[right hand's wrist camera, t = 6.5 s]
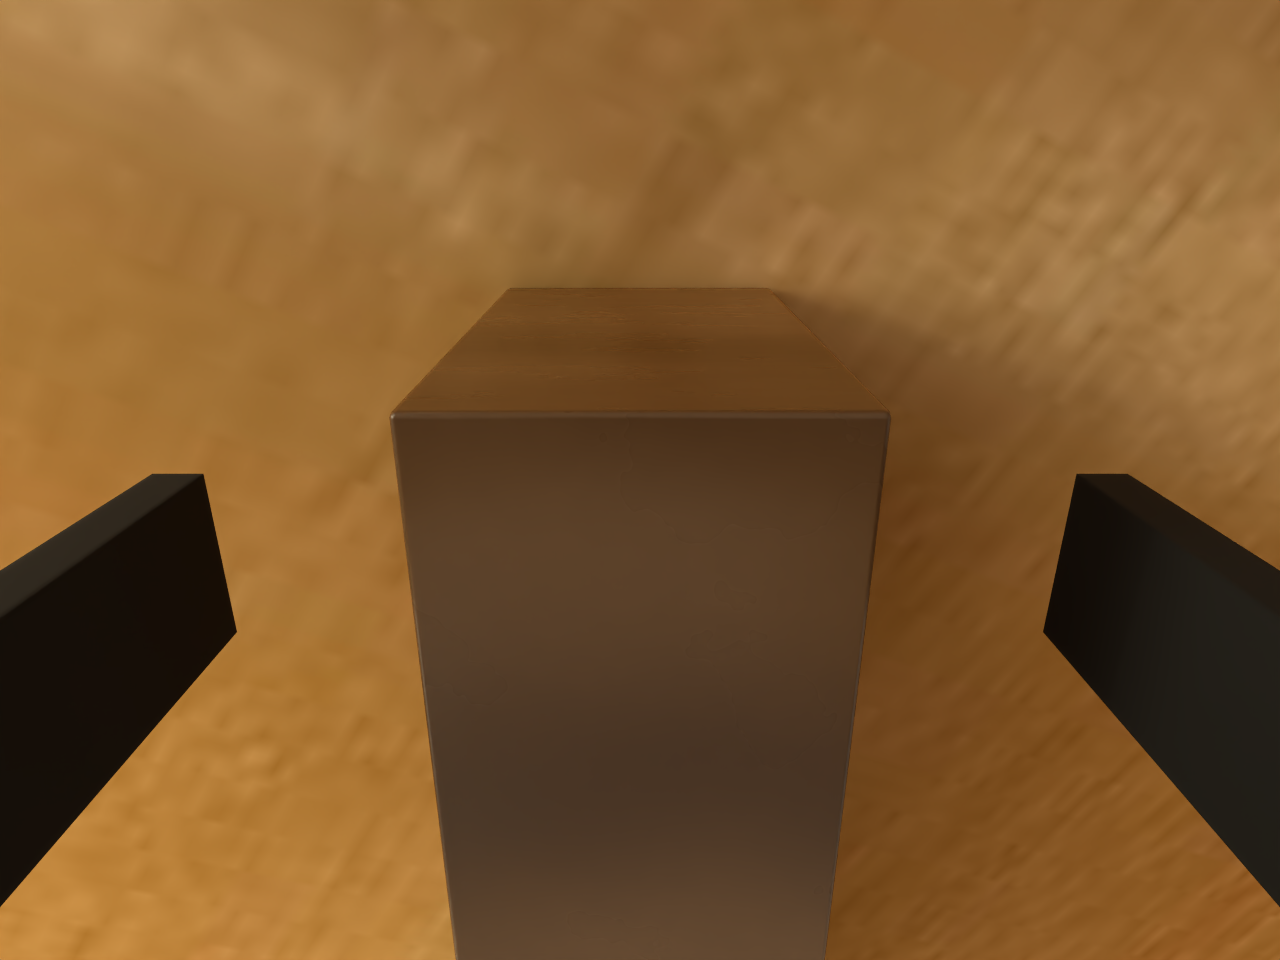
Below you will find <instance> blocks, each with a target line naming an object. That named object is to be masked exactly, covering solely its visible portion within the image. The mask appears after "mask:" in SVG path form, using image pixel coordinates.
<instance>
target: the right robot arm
mask: <svg viewBox="0 0 1280 960" xmlns="http://www.w3.org/2000/svg"><path fill="white" fill-rule="evenodd" d="M236 632H237V630H236V626H235V621H234V616H233V611H232V607H231V602H230V597H229V592H228V588H227V583H226V578H225V574H224V569H223V564H222V559H221V555H220V550H219V545H218V541H217V536H216V531H215V526H214V522H213V517H212V512H211V508H210V503H209V498H208V493H207V489H206V484H205V479H204V475H203V474H151V475H150V476H148V477H147V478H145V479H144V480H142V481H140V482H139V483H137V484H136V485H134V486H133V487H131V488H129V489H128V490H126V491H125V492H123V493H122V494H120V495H118V496H117V497H115V498H114V499H112V500H111V501H109V502H107V503H106V504H104V505H103V506H101V507H100V508H98V509H96V510H95V511H93V512H92V513H90V514H89V515H87V516H85V517H84V518H82V519H81V520H79V521H78V522H76V523H74V524H73V525H71V526H70V527H68V528H67V529H65V530H63V531H62V532H60V533H59V534H57V535H56V536H54V537H52V538H51V539H49V540H48V541H46V542H45V543H43V544H41V545H40V546H38V547H37V548H35V549H34V550H32V551H30V552H29V553H27V554H26V555H24V556H23V557H21V558H19V559H18V560H16V561H15V562H13V563H12V564H10V565H8V566H7V567H5V568H4V569H2V570H1V571H0V907H1V905H2V904H3V903H4V902H5V901H6V900H7V898H8V897H9V896H10V895H11V894H12V893H13V892H14V890H15V889H16V888H17V887H18V886H19V885H20V883H21V882H22V881H23V880H24V879H25V878H26V876H27V875H28V874H29V873H30V872H31V871H32V869H33V868H34V867H35V866H36V865H37V864H38V862H39V861H40V860H41V859H42V858H43V857H44V856H45V854H46V853H47V852H48V851H49V850H50V849H51V847H52V846H53V845H54V844H55V843H56V842H57V840H58V839H59V838H60V837H61V836H62V835H63V833H64V832H65V831H66V830H67V829H68V828H69V826H70V825H71V824H72V823H73V822H74V821H75V819H76V818H77V817H78V816H79V815H80V814H81V813H82V811H83V810H84V809H85V808H86V807H87V806H88V804H89V803H90V802H91V801H92V800H93V799H94V797H95V796H96V795H97V794H98V793H99V792H100V790H101V789H102V788H103V787H104V786H105V785H106V783H107V782H108V781H109V780H110V779H111V778H112V777H113V775H114V774H115V773H116V772H117V771H118V770H119V768H120V767H121V766H122V765H123V764H124V763H125V761H126V760H127V759H128V758H129V757H130V756H131V754H132V753H133V752H134V751H135V750H136V749H137V747H138V746H139V745H140V744H141V743H142V742H143V740H144V739H145V738H146V737H147V736H148V735H149V734H150V732H151V731H152V730H153V729H154V728H155V727H156V725H157V724H158V723H159V722H160V721H161V720H162V718H163V717H164V716H165V715H166V714H167V713H168V711H169V710H170V709H171V708H172V707H173V706H174V704H175V703H176V702H177V701H178V700H179V699H180V698H181V696H182V695H183V694H184V693H185V692H186V691H187V689H188V688H189V687H190V686H191V685H192V684H193V682H194V681H195V680H196V679H197V678H198V677H199V675H200V674H201V673H202V672H203V671H204V670H205V668H206V667H207V666H208V665H209V664H210V663H211V661H212V660H213V659H214V658H215V657H216V656H217V655H218V653H219V652H220V651H221V650H222V649H223V648H224V646H225V645H226V644H227V643H228V642H229V641H230V639H231V638H232V637H233V636H234V635H235V634H236ZM1043 632H1044V634H1045V635H1046V636H1047V637H1048V638H1049V639H1050V641H1051V642H1052V643H1053V644H1054V645H1055V646H1056V648H1057V649H1058V650H1059V651H1060V652H1061V653H1062V655H1063V656H1064V657H1065V658H1066V659H1067V660H1068V661H1069V663H1070V664H1071V665H1072V666H1073V667H1074V668H1075V670H1076V671H1077V672H1078V673H1079V674H1080V675H1081V677H1082V678H1083V679H1084V680H1085V681H1086V682H1087V684H1088V685H1089V686H1090V687H1091V688H1092V689H1093V691H1094V692H1095V693H1096V694H1097V695H1098V696H1099V698H1100V699H1101V700H1102V701H1103V702H1104V703H1105V704H1106V706H1107V707H1108V708H1109V709H1110V710H1111V711H1112V713H1113V714H1114V715H1115V716H1116V717H1117V718H1118V720H1119V721H1120V722H1121V723H1122V724H1123V725H1124V727H1125V728H1126V729H1127V730H1128V731H1129V732H1130V734H1131V735H1132V736H1133V737H1134V738H1135V739H1136V740H1137V742H1138V743H1139V744H1140V745H1141V746H1142V747H1143V749H1144V750H1145V751H1146V752H1147V753H1148V754H1149V756H1150V757H1151V758H1152V759H1153V760H1154V761H1155V763H1156V764H1157V765H1158V766H1159V767H1160V768H1161V770H1162V771H1163V772H1164V773H1165V774H1166V775H1167V777H1168V778H1169V779H1170V780H1171V781H1172V782H1173V783H1174V785H1175V786H1176V787H1177V788H1178V789H1179V790H1180V792H1181V793H1182V794H1183V795H1184V796H1185V797H1186V799H1187V800H1188V801H1189V802H1190V803H1191V804H1192V806H1193V807H1194V808H1195V809H1196V810H1197V811H1198V813H1199V814H1200V815H1201V816H1202V817H1203V818H1204V819H1205V821H1206V822H1207V823H1208V824H1209V825H1210V826H1211V828H1212V829H1213V830H1214V831H1215V832H1216V833H1217V835H1218V836H1219V837H1220V838H1221V839H1222V840H1223V842H1224V843H1225V844H1226V845H1227V846H1228V847H1229V849H1230V850H1231V851H1232V852H1233V853H1234V854H1235V856H1236V857H1237V858H1238V859H1239V860H1240V861H1241V862H1242V864H1243V865H1244V866H1245V867H1246V868H1247V869H1248V871H1249V872H1250V873H1251V874H1252V875H1253V876H1254V878H1255V879H1256V880H1257V881H1258V882H1259V883H1260V885H1261V886H1262V887H1263V888H1264V889H1265V890H1266V892H1267V893H1268V894H1269V895H1270V896H1271V897H1272V898H1273V900H1274V901H1275V902H1276V903H1277V904H1278V905H1279V907H1280V571H1279V570H1278V569H1276V568H1275V567H1273V566H1272V565H1270V564H1268V563H1267V562H1265V561H1264V560H1262V559H1261V558H1259V557H1257V556H1256V555H1254V554H1253V553H1251V552H1250V551H1248V550H1246V549H1245V548H1243V547H1242V546H1240V545H1239V544H1237V543H1235V542H1234V541H1232V540H1231V539H1229V538H1228V537H1226V536H1224V535H1223V534H1221V533H1220V532H1218V531H1217V530H1215V529H1213V528H1212V527H1210V526H1209V525H1207V524H1206V523H1204V522H1202V521H1201V520H1199V519H1198V518H1196V517H1195V516H1193V515H1191V514H1190V513H1188V512H1187V511H1185V510H1184V509H1182V508H1180V507H1179V506H1177V505H1176V504H1174V503H1173V502H1171V501H1169V500H1168V499H1166V498H1165V497H1163V496H1162V495H1160V494H1158V493H1157V492H1155V491H1154V490H1152V489H1151V488H1149V487H1147V486H1146V485H1144V484H1143V483H1141V482H1140V481H1138V480H1136V479H1135V478H1133V477H1132V476H1130V475H1129V474H1077V475H1076V479H1075V484H1074V489H1073V493H1072V498H1071V503H1070V508H1069V512H1068V517H1067V522H1066V526H1065V531H1064V536H1063V541H1062V545H1061V550H1060V555H1059V559H1058V564H1057V569H1056V574H1055V578H1054V583H1053V588H1052V592H1051V597H1050V602H1049V607H1048V611H1047V616H1046V621H1045V626H1044V630H1043Z"/></svg>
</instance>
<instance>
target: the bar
mask: <svg viewBox="0 0 1280 960" xmlns="http://www.w3.org/2000/svg"><path fill="white" fill-rule="evenodd" d="M890 422H891V415H890V412H889V411H888V410H887V409H886V408H885V407H884V406H883V405H882V404H881V403H880V402H879V401H878V400H877V399H876V398H875V397H874V396H873V395H872V393H871V392H870V391H869V390H868V389H867V388H866V387H865V386H864V385H863V384H862V383H861V382H860V381H859V380H858V379H857V378H856V377H855V376H854V375H853V374H852V373H851V372H850V371H849V370H848V369H847V368H846V367H845V366H844V365H843V364H842V363H841V362H840V361H839V360H838V359H837V358H836V357H835V356H834V355H833V354H832V353H831V351H830V350H829V349H828V348H827V347H826V346H825V345H824V344H823V343H822V342H821V341H820V340H819V339H818V338H817V337H816V336H815V335H814V334H813V333H812V332H811V331H810V330H809V329H808V328H807V327H806V326H805V325H804V324H803V323H802V322H801V321H800V320H799V319H798V318H797V317H796V316H795V315H794V314H793V313H792V312H791V310H790V309H789V308H788V307H787V306H786V305H785V304H784V303H783V302H782V301H781V300H780V299H779V298H778V297H777V296H776V295H775V294H774V293H773V292H772V291H771V290H770V289H768V288H510V289H508V290H507V291H506V292H505V293H504V294H503V295H502V296H501V297H500V298H499V299H498V300H497V301H496V302H495V303H494V304H493V306H492V307H491V308H490V309H489V310H488V311H487V312H486V313H485V314H484V315H483V316H482V317H481V318H480V319H479V320H478V321H477V322H476V323H475V325H474V326H473V327H472V328H471V329H470V330H469V331H468V332H467V333H466V334H465V335H464V336H463V337H462V338H461V339H460V340H459V341H458V342H457V344H456V345H455V346H454V347H453V348H452V349H451V350H450V351H449V352H448V353H447V354H446V355H445V356H444V357H443V358H442V359H441V360H440V361H439V363H438V364H437V365H436V366H435V367H434V368H433V369H432V370H431V371H430V372H429V373H428V374H427V375H426V376H425V377H424V378H423V379H422V380H421V382H420V383H419V384H418V385H417V386H416V387H415V388H414V389H413V390H412V391H411V392H410V393H409V394H408V395H407V396H406V397H405V398H404V399H403V401H402V402H401V403H400V404H399V405H398V406H397V407H396V408H395V409H394V410H393V411H392V412H391V415H390V425H391V433H392V441H393V449H394V458H395V466H396V474H397V482H398V490H399V499H400V507H401V515H402V523H403V531H404V539H405V548H406V556H407V564H408V572H409V580H410V589H411V597H412V605H413V613H414V621H415V630H416V638H417V646H418V654H419V662H420V670H421V679H422V687H423V695H424V703H425V711H426V720H427V728H428V736H429V744H430V752H431V761H432V769H433V777H434V785H435V793H436V801H437V810H438V818H439V826H440V834H441V842H442V851H443V859H444V867H445V875H446V883H447V892H448V900H449V908H450V916H451V924H452V932H453V941H454V949H455V957H456V960H825V952H826V944H827V936H828V928H829V920H830V912H831V903H832V895H833V887H834V879H835V871H836V863H837V854H838V846H839V838H840V830H841V822H842V814H843V805H844V797H845V789H846V781H847V773H848V765H849V756H850V748H851V740H852V732H853V724H854V716H855V707H856V699H857V691H858V683H859V675H860V667H861V658H862V650H863V642H864V634H865V626H866V618H867V610H868V601H869V593H870V585H871V577H872V569H873V561H874V552H875V544H876V536H877V528H878V520H879V512H880V503H881V495H882V487H883V479H884V471H885V463H886V454H887V446H888V438H889V430H890Z"/></svg>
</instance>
